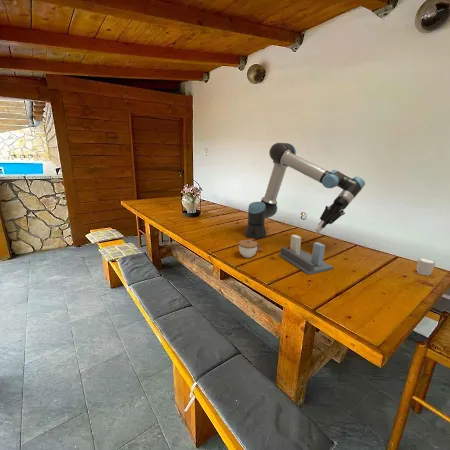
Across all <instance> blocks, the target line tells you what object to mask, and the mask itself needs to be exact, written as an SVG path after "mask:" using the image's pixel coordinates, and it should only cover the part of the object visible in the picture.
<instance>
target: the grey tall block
mask: <svg viewBox="0 0 450 450" xmlns="http://www.w3.org/2000/svg"><path fill="white" fill-rule="evenodd" d="M312 245H313V246H312V253H311V255H312V260H311V262H312V263H313V264H315V265H317V266H321V265H323V261H324V258H325V249H326V245H325V244H323V243H321V242H317V241H316V242H313V244H312Z"/></svg>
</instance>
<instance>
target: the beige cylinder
mask: <svg viewBox="0 0 450 450" xmlns="http://www.w3.org/2000/svg"><path fill="white" fill-rule="evenodd" d="M436 263H437V262H436V261H435V260H433V259H430V258H428V257H427V258H426V257H418V258H417V265H416V271H417V272H416V273H417V274H419V275H422V276H425V275H426V277H427V276H428V277H429V275H430V276H431V275H432V272H433V270H434V268H435V267H436Z"/></svg>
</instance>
